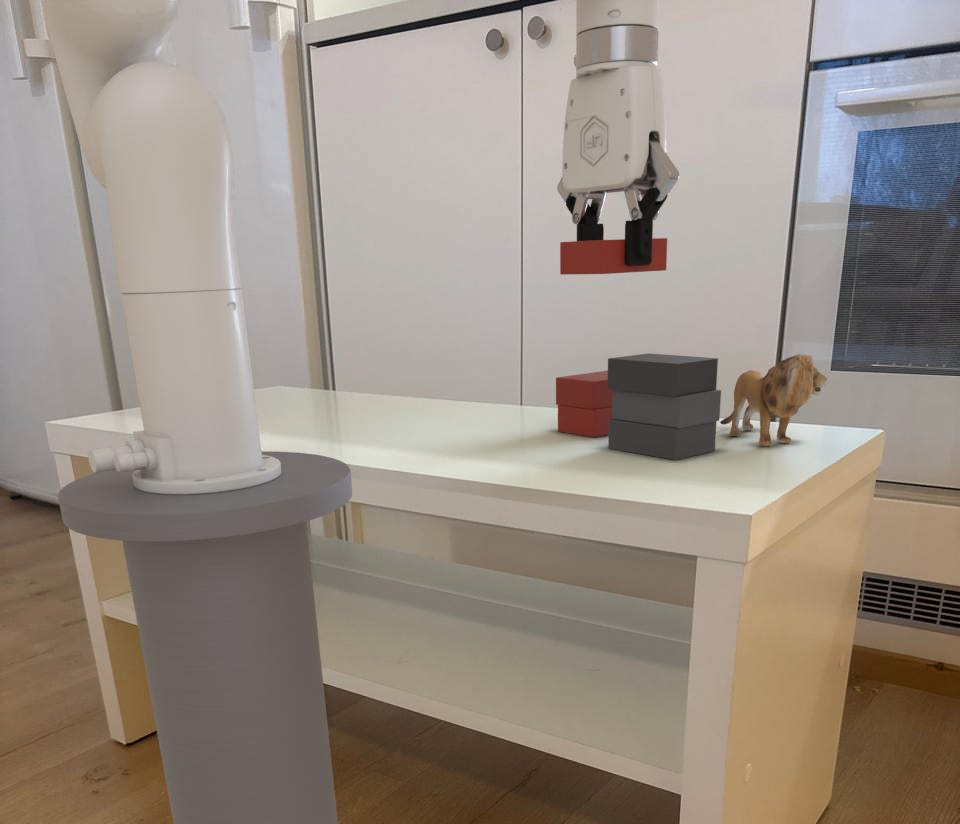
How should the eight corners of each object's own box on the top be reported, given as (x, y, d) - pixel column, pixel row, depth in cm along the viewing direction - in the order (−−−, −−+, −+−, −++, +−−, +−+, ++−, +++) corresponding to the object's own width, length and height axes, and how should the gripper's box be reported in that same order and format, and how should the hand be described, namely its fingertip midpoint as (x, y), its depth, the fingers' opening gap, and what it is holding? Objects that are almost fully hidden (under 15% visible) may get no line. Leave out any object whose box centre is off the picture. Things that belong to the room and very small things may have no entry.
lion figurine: (827, 447, 95) (837, 354, 91) (783, 452, 93) (791, 357, 89) (739, 426, 107) (745, 343, 104) (699, 430, 106) (703, 346, 102)
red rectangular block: (666, 270, 95) (667, 238, 94) (602, 274, 90) (602, 239, 89) (623, 271, 100) (624, 240, 98) (560, 274, 95) (559, 242, 93)
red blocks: (650, 426, 109) (652, 373, 107) (593, 437, 104) (594, 381, 102) (611, 421, 114) (612, 369, 111) (555, 431, 108) (555, 377, 106)
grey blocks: (675, 460, 91) (679, 364, 88) (606, 448, 98) (607, 358, 94) (717, 451, 95) (723, 358, 91) (648, 440, 101) (651, 352, 98)
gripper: (526, 70, 92) (529, 268, 99) (658, 35, 79) (651, 265, 86) (582, 76, 96) (581, 265, 103) (716, 43, 83) (705, 263, 90)
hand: (613, 263), depth 94 cm, fingers closed on red rectangular block, 6 cm apart
